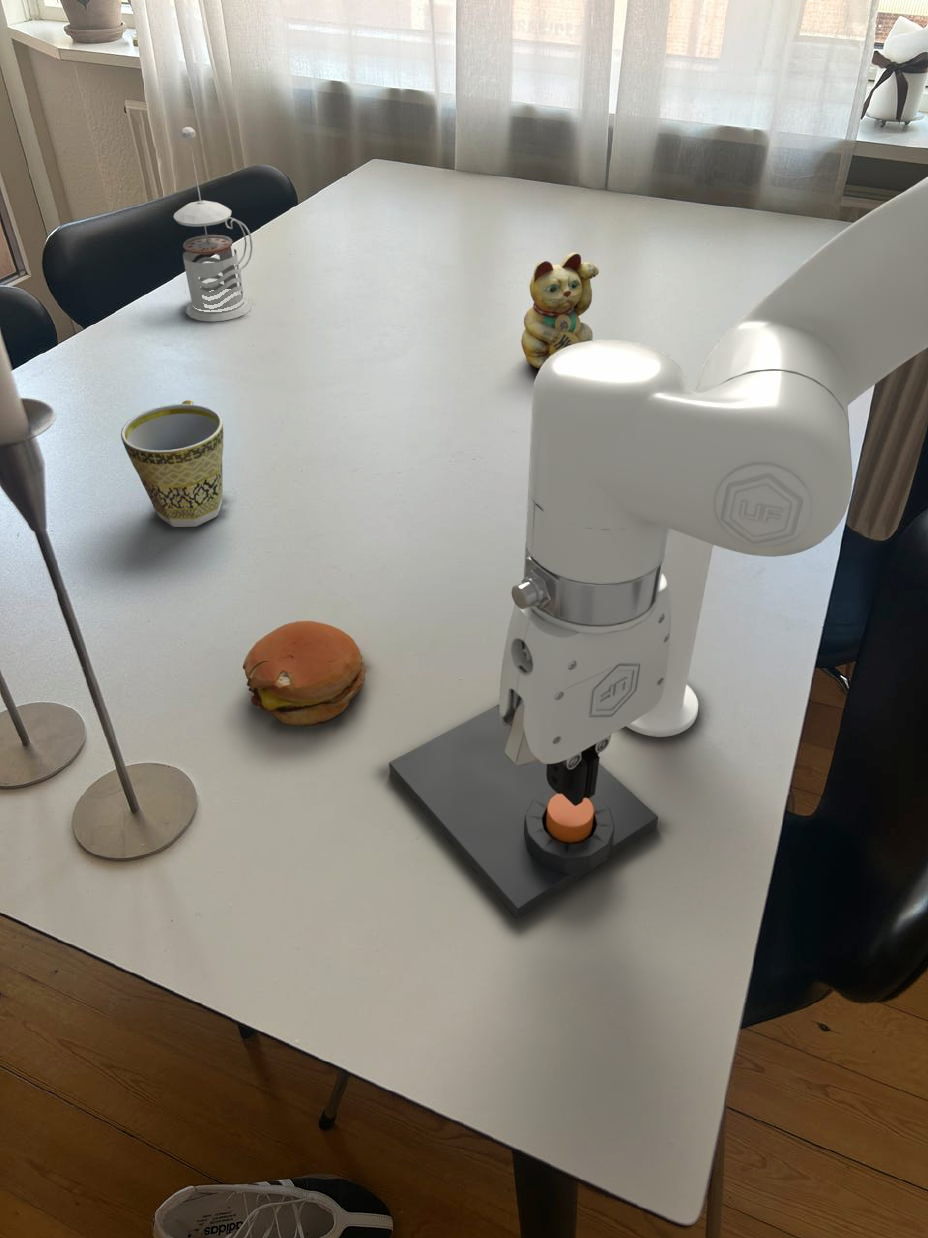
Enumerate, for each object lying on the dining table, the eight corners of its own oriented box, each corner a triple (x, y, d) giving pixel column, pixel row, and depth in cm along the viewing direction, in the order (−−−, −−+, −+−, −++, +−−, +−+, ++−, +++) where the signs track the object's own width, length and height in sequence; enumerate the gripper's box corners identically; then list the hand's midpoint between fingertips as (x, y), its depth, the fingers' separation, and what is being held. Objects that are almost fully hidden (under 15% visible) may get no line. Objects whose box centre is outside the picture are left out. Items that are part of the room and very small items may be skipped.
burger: (365, 648, 86) (361, 607, 83) (365, 723, 79) (360, 682, 76) (254, 654, 85) (245, 614, 82) (243, 731, 78) (233, 690, 75)
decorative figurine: (538, 383, 125) (543, 268, 116) (506, 359, 131) (508, 247, 121) (599, 367, 129) (609, 253, 119) (566, 344, 134) (572, 234, 125)
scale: (662, 832, 70) (667, 805, 68) (522, 925, 64) (523, 899, 62) (521, 702, 80) (522, 676, 79) (389, 772, 75) (387, 746, 73)
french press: (174, 307, 146) (136, 126, 130) (240, 287, 152) (212, 112, 136) (206, 326, 140) (171, 140, 124) (274, 305, 146) (249, 124, 130)
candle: (593, 704, 80) (622, 438, 64) (648, 665, 84) (688, 403, 68) (660, 751, 76) (709, 479, 60) (714, 708, 80) (774, 440, 64)
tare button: (601, 828, 67) (603, 812, 66) (566, 851, 66) (568, 835, 65) (571, 799, 69) (573, 783, 68) (536, 820, 68) (537, 804, 67)
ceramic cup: (229, 536, 99) (212, 450, 93) (132, 537, 99) (108, 452, 93) (249, 470, 109) (234, 389, 103) (161, 471, 109) (141, 390, 103)
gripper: (529, 661, 48) (517, 881, 59) (736, 555, 54) (688, 772, 66) (442, 585, 52) (447, 803, 64) (643, 496, 59) (614, 708, 71)
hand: (570, 787), depth 65 cm, fingers closed
